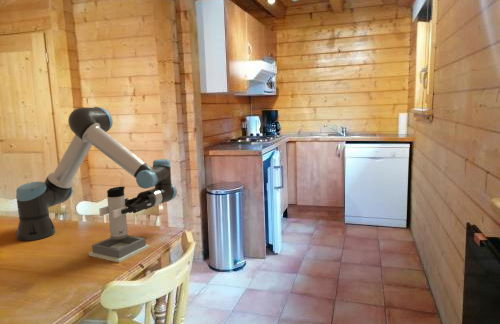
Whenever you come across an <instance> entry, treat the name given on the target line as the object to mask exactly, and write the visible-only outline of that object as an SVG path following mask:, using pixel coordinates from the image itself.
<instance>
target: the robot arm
mask: <svg viewBox="0 0 500 324" xmlns="http://www.w3.org/2000/svg"><path fill="white" fill-rule="evenodd" d="M113 122H114V121H113V117H112V115H111V113H110V112H109V111H108V110H107V109H106V108H104V107H99V106H94V107H77V108H75V109H73V111H71V112H70V113H69V116H68V126H69V129H70V131H71V132H72V133H73V134H74V136H73V137H72V140H71V141H70V144H69V145H68V146H67V149H65V150H66V151H65V152H64V154H63V156H62V157H61V159H60V161H59V163H58V165H57V167H56V168H55V170H54V171H53V172H51V173H49V174H48V175H47V176H46V178H45V180H44V181H32V182H29V183H28V182H26V183H24V184H22V185H20V186H18V187H17V188H16V191H15V192H16V193H15V194H16V196H15V199H16V204H17V212H18V219H19V222H18V224H17V225H18V226H17V230H16V232H15V233H16V234H15V235H16V239H17V240H19V241H25V242H26V241H36V240H42V239H45V238H48V237H51V236H53V235H54V234H55V233H56V227H55V225H54V222H53V221H52V218H51V217H50V211H49V208H51V207H54V206H57V205H60V204H62V203H64V202H66V201H67V200H69V199H70V198H71V197H72V195H73V192H74V189H73V186H74V183H73V179H74V177H75V176H76V174H77V173H78V171H79V169H80V167H81V165H82V164H83V162H84V160H85V159H86V157H87V155H88V154H89V152H90V150H91V149H92V146H93V147H94V148H95V149H97V150H98V151H100V152H101V153H102V154H104V155H105V156H106V157H108V158H109V159H111V161H113V162H114V163H115V164H117V165H118V166H119V167H121V168H122V169H123V170H125V172H127V173H128V174H130V175H131V176H132V177H134V178H135V181H136V184H137V186H138V187H139V188H141V189H146V190H143V191H141V192H139V193H138V194H137V196H136V197H135V196H134V197H132V198H128V197H125V207H122V208H119V209H116V210H113V218H116V217H119V216H121V215H124V214H126V215H127V214H131V213H133V214H136V213H139V212H141V211H143V210H148V209H151V208H156V206H159V205H161V204H164V203H168V202H170V201H171V200H174V199H175V198H176V197H177V194H178V190H177V188H176V186H175V185H174V184H172V174H171V173H172V171H171V169H172V167H171V162H170V160H169V159H167V158H166V159H165V158H163V159H162V158H161V159H154V160H153V162H152V166H150V165H149V164H148V163H146V162H145V161H144V160H143V159H141V158H140V157H139V156H137V155H136V154H135V153H134V152H133V151H131V150H129V149H128V148H127V147H126V146H124V145H123V144H122V143H120V142H119V141H118V140H116V139H115V138H114V137H113V136H112V135H110V134H109V133H107V132H108V131H109V130H111V128H112V127H113ZM104 215H109V211H108V205H107V206H103V207H101V208H99V216H100V217H102V216H104Z"/></svg>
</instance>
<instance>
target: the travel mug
mask: <svg viewBox="0 0 500 324" xmlns="http://www.w3.org/2000/svg"><path fill="white" fill-rule="evenodd" d="M125 189H126V186H116V187H115V186H114V187H111V188H109V189H107V191H106V193H107V194H106V195H107V206H108V211H109V213H108V220H109V221H108V222H109V233H110V238H112V239H115V240H118V239H123V238H126V237H127V236H128V235H129V234H128V221H127V214H124V215H121V216H119V217H116V218H113V210H116V209H119V208H122V207H125V199H126V197H125Z"/></svg>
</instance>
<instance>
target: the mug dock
mask: <svg viewBox="0 0 500 324" xmlns="http://www.w3.org/2000/svg"><path fill="white" fill-rule="evenodd" d="M146 243H147V242H146V238H144V237H139V236H133V235H129V234H128V236H127V237H126V238H123V239H118V240H115V239H112V238H111V237H108V238H106V239H104V240H101V241H99V242H96V243H94V244H92V245H91V248H92V250H91V252H89V253H88V256H89V257H93V258H97V257H98V259H102V260H107V261H111V262H116V263H119V264H120V263H121V262H124V261H126V260H128V259H129V258H131V257H134V256H135V255H137V254H140V253H141V252H143V251H145V250H147V249H149V248H150V244H146Z"/></svg>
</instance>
